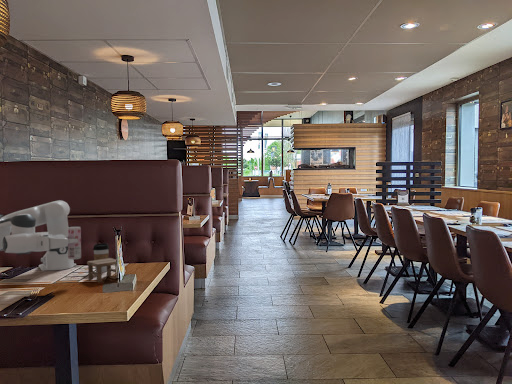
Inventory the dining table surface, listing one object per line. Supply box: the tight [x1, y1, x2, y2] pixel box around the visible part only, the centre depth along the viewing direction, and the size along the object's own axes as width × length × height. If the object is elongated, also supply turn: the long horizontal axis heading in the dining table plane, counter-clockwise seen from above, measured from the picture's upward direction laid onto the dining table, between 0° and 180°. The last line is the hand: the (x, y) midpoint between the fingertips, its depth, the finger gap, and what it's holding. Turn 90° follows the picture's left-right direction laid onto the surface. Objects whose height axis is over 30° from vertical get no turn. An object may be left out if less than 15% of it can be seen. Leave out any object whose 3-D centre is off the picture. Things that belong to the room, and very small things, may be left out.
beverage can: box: [68, 226, 82, 260], centre depth 191 cm, size 6×6×15 cm
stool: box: [86, 257, 117, 284], centre depth 201 cm, size 12×12×9 cm
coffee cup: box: [92, 242, 110, 273], centre depth 219 cm, size 8×8×15 cm
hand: (76, 239), depth 191 cm, fingers closed on beverage can, 6 cm apart
